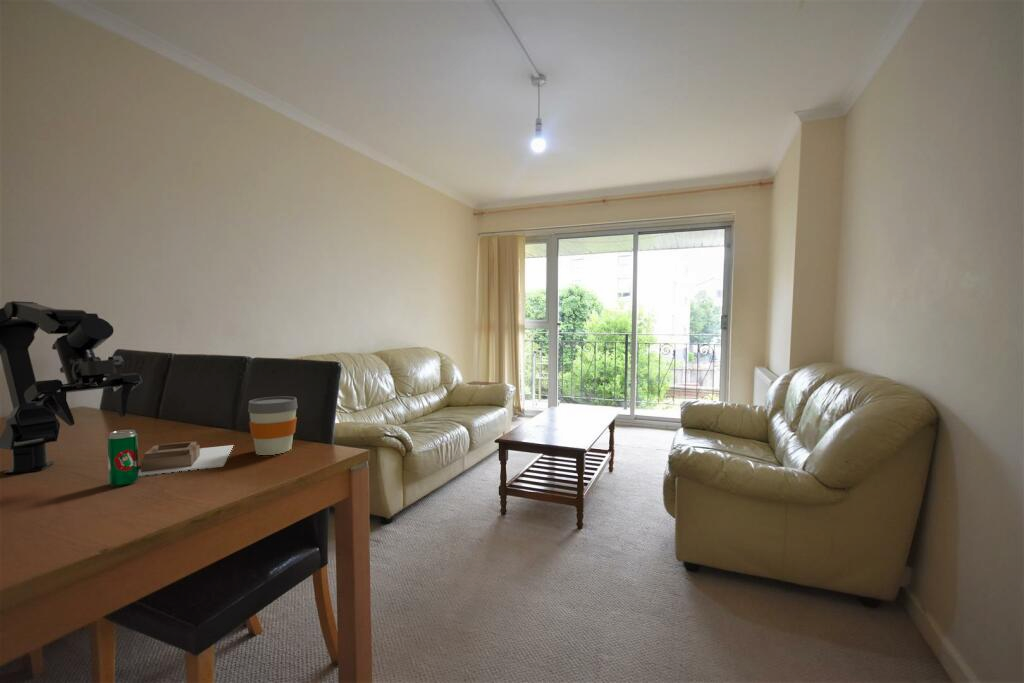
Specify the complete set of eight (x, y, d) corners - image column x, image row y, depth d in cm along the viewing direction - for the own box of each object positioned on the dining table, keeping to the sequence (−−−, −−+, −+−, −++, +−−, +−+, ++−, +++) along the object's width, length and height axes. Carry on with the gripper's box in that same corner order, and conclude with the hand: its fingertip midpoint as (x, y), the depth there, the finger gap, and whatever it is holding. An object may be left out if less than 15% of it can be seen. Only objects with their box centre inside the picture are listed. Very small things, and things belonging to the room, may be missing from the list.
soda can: (116, 480, 99) (115, 429, 99) (143, 478, 101) (141, 428, 100) (103, 488, 94) (101, 435, 94) (131, 486, 96) (129, 433, 95)
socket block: (153, 462, 112) (153, 444, 112) (199, 457, 117) (199, 440, 117) (141, 474, 104) (140, 455, 103) (191, 468, 108) (191, 449, 108)
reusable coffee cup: (307, 449, 125) (306, 398, 124) (264, 460, 114) (263, 405, 114) (282, 443, 131) (281, 395, 131) (239, 453, 121) (238, 401, 120)
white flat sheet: (157, 454, 119) (157, 452, 119) (233, 446, 127) (233, 444, 127) (132, 477, 101) (132, 475, 101) (223, 466, 109) (223, 464, 109)
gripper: (39, 345, 87) (61, 415, 85) (144, 342, 104) (165, 400, 102) (13, 368, 90) (35, 435, 88) (119, 361, 108) (139, 417, 106)
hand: (99, 420), depth 96 cm, fingers open, 9 cm apart
